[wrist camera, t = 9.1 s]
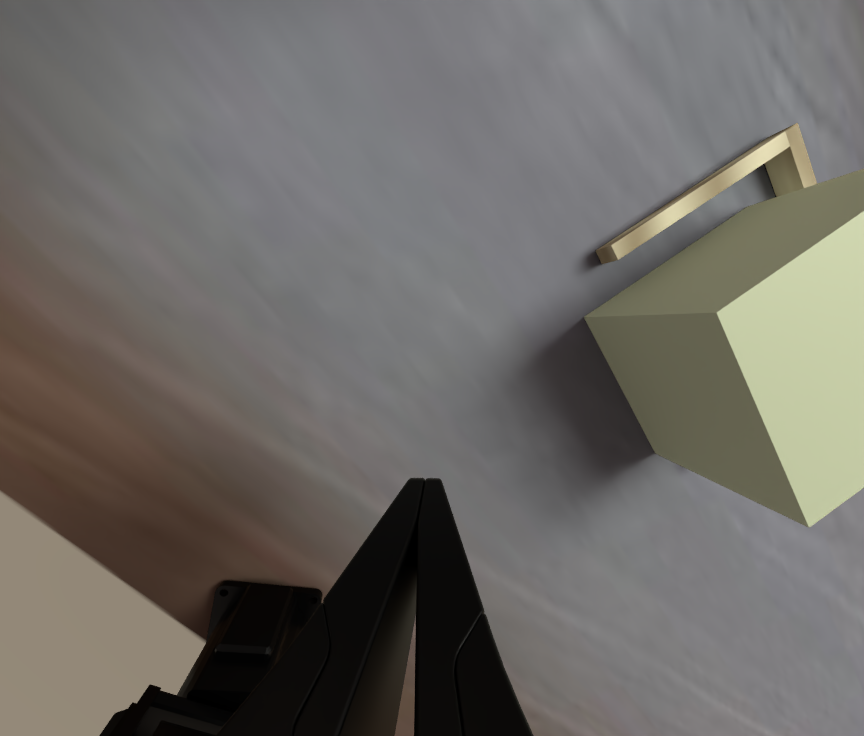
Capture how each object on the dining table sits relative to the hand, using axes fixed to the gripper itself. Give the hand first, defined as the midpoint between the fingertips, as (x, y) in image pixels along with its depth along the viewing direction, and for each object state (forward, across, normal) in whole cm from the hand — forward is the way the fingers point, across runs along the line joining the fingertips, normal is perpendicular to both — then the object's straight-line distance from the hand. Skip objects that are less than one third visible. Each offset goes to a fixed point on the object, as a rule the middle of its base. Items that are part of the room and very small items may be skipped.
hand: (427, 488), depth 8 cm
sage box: (+17, -18, +4) cm, 25 cm away
